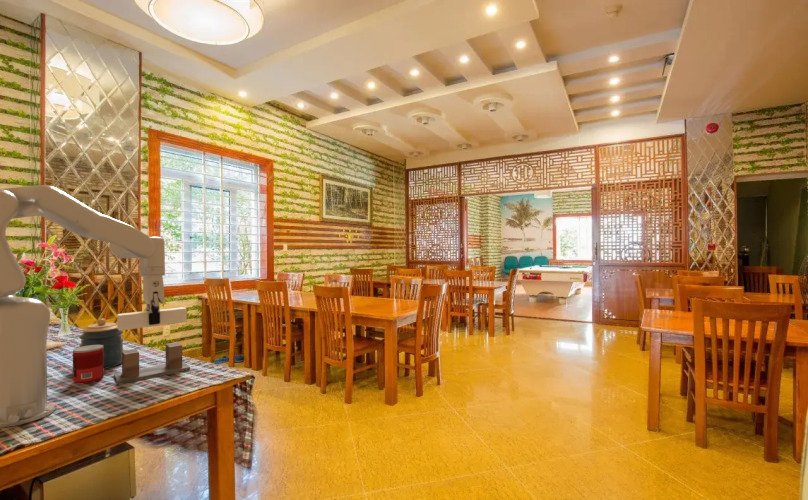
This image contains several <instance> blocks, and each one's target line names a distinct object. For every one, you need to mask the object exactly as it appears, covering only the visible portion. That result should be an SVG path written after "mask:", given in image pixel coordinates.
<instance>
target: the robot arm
mask: <svg viewBox="0 0 808 500" xmlns="http://www.w3.org/2000/svg"><path fill="white" fill-rule="evenodd" d="M28 217H42V218H44V219H46V220H48V221H50V222H51V223H54V224H56V225H57V226H60V227H61V228H63V229H65V230H67V231H70V232H71V233H73V234H75V235H76V236H80V237H83V238H87V239H89V240H90V239H92V240H96V241H101V242H106V243H109V247H108V248H109V251H110V253H111V254H112V255H113V256H115V257H117V258H120V259H138V261H139V263H138V265H139V266H138V267H139V268H138V269H139V270H138V271H139V272H138V273H139V274H138V275H139V277H142V296H143V297H142V298H143V302H144V303H145V305H146V308H145V311H150V313H149V325H153V324H159V323H160V310H161V309H160V304H164V303H165V287H164V278H163V277H164V276H166V260H165V259H166V258H165V257H166V256H165V254H166V253H165V249H166V248H165V245H166V243H165V239H164V238H163V237H161V236H149V235H147V234H146V233H144V232H143V231H141V230H140V229H138V228H136V227H134V226H132V225H131V224H127V223H125V222H123V221H121V220H118V219H115V218H113V217H111V216H109V215H106V214H102V213H101V212H99V211H97V210H95V209H93V208H91V207H90V206H88V205H87V204H85V203H83V202H81V201H80V200H78V199H76V198H74V197H73V196H71V195H70V194H68V193H67V192H65V191H63V190H61V189H59V188H57V187H55V186H53V185H47V184H39V185H27V186H18V187H17V186H15V187H8V188H7V187H5V188H0V428H9V427H15V426H19V425H23V424H27V423H32V422H35V421H37V420H39V419H43V418H45V417H47V416H49V415H51V414H52V413H53V412H55V409H56V404H54V403H52V402H48V373H47V372H48V365H47V363H48V362H47V361H48V359H47V357H48V356H47V340H48V339H47V338H48V331H49V327H50V323H51V311H50V308H49V307H48V305H47V304H46V303H44V302H43V301H41V300H39V299H35V298H32V297H25V296H24V297H23V296H17V295H16V294H18V293H19V292H21V291H22V290H23V289H24V288H25V285H26V283H27V282H26V281H27V279H26V276H25V272H24V271H23V269H22V267H21V266H20V264H19V261H18V260H17V258H16V257H15V254H14V253H13V251H12V249H11V247H10V245H9V243H8V240H7V236H6V230H7V228H8V226H9V223H10V222H11V221H12V220H13V219H21V218H28Z"/></svg>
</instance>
